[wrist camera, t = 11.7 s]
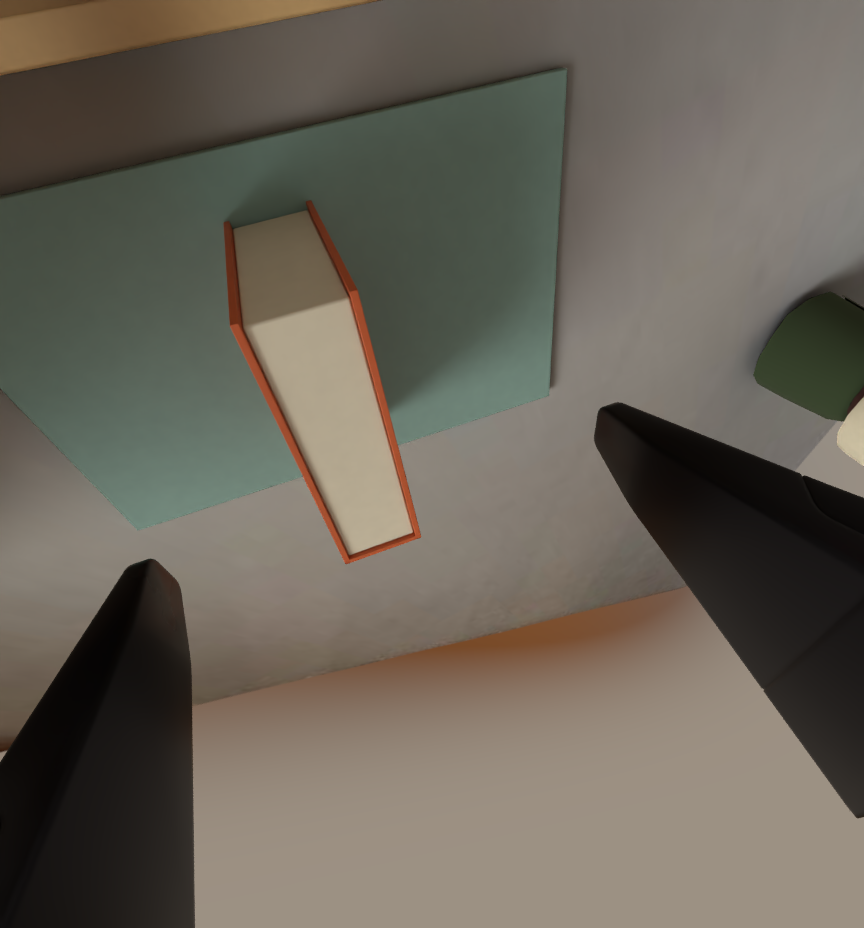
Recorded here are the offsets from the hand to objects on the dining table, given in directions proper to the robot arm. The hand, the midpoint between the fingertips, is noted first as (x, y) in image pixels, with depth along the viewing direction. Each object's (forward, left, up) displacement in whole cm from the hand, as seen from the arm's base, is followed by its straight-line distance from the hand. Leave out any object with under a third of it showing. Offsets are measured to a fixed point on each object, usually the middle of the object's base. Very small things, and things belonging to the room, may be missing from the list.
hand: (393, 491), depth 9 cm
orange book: (+1, +3, -12) cm, 12 cm away
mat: (+1, +3, -12) cm, 13 cm away
